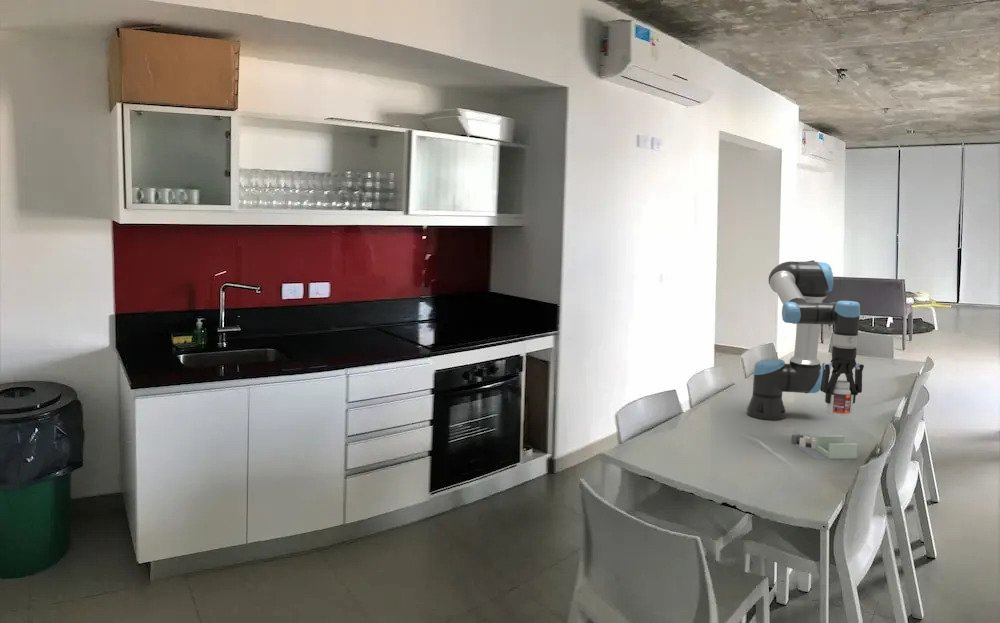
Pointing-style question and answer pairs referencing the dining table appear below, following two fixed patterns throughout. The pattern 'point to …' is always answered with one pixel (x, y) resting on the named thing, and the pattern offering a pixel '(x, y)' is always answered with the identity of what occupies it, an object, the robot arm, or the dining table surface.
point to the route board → (808, 446)
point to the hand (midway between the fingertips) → (839, 412)
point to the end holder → (836, 447)
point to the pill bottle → (841, 398)
